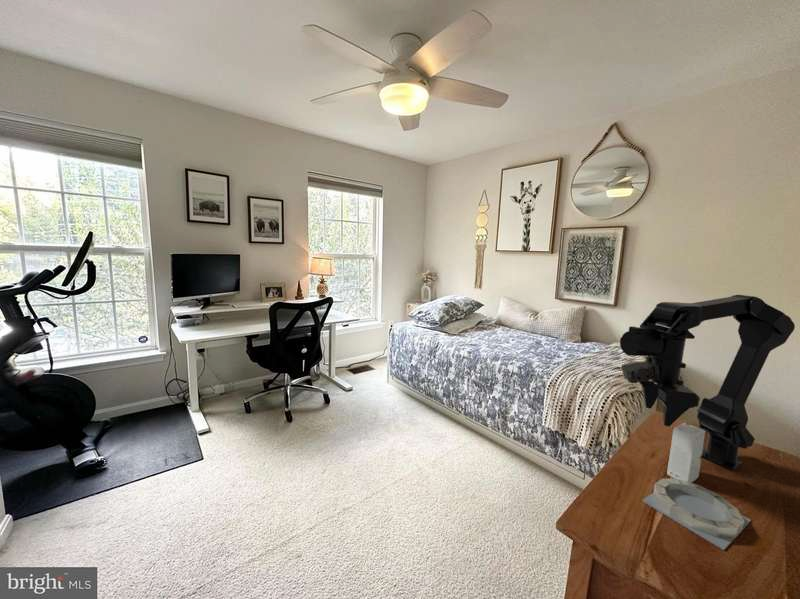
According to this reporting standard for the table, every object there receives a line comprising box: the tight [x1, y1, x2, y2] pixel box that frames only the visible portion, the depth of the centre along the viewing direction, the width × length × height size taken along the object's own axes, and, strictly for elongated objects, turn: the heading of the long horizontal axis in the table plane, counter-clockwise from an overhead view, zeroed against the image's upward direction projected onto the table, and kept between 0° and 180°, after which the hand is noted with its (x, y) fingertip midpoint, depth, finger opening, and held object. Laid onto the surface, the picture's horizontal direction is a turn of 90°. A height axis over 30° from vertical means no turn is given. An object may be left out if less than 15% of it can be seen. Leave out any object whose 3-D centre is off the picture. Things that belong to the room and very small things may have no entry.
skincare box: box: [666, 422, 706, 483], centre depth 77 cm, size 6×4×12 cm
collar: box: [653, 478, 744, 539], centre depth 67 cm, size 13×13×2 cm
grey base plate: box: [641, 491, 751, 551], centre depth 67 cm, size 14×13×1 cm
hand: (657, 416), depth 80 cm, fingers open, 9 cm apart
